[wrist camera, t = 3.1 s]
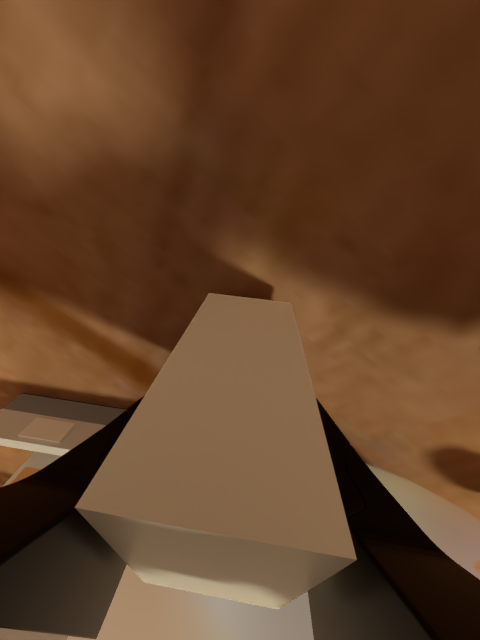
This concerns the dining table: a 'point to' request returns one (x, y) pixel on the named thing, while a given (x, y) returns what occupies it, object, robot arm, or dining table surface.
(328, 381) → the dining table surface
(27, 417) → the shelf board
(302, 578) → the carton
